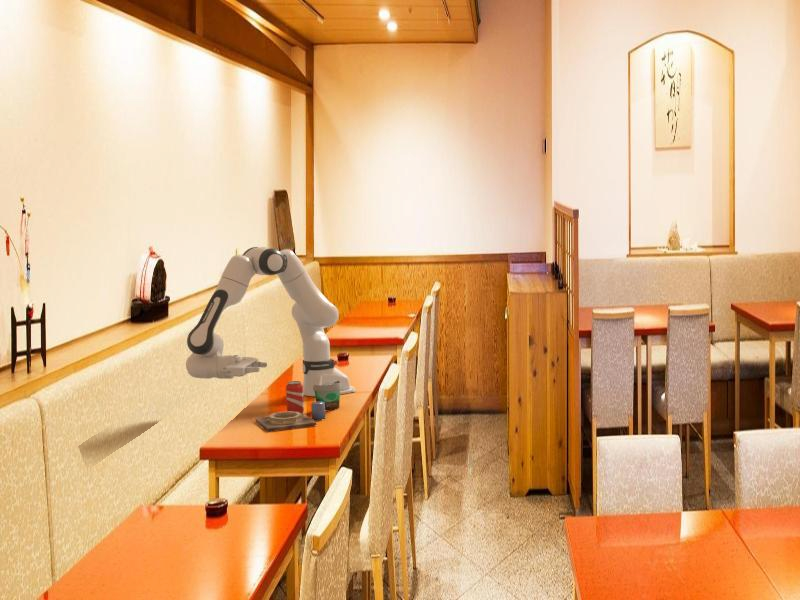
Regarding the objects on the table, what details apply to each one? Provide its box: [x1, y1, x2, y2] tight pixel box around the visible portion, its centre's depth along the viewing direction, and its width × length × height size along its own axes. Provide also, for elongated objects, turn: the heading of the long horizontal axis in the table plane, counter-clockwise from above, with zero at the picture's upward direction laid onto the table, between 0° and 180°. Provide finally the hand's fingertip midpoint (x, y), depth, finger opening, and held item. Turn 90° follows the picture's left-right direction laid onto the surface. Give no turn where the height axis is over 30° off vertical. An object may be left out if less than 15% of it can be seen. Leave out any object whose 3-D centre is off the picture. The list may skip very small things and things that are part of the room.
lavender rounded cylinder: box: [310, 401, 326, 421], centre depth 372 cm, size 5×5×6 cm
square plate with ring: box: [254, 410, 317, 433], centre depth 366 cm, size 18×18×3 cm
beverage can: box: [285, 380, 305, 413], centre depth 381 cm, size 6×6×12 cm
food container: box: [313, 380, 342, 411], centre depth 387 cm, size 12×6×10 cm, turn 129°
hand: (262, 367), depth 382 cm, fingers open, 8 cm apart
